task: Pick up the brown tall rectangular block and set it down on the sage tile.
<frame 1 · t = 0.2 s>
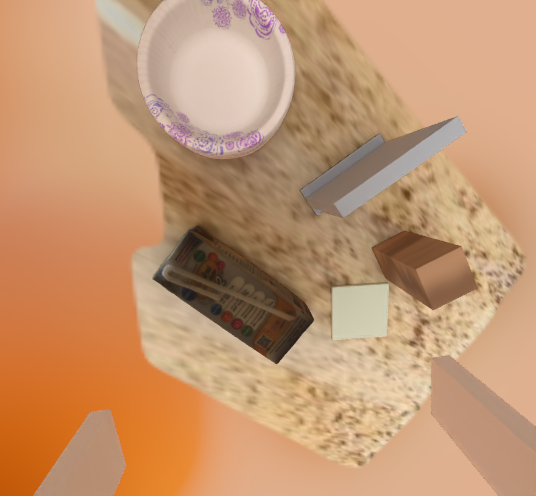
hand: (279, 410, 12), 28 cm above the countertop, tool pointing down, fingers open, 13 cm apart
brown tall rectangular block: (394, 254, 40), on the countertop
sage tile: (358, 310, 41), on the countertop
slate panel: (346, 176, 37), on the countertop
beverage carton: (237, 284, 40), on the countertop
paper bowls: (224, 97, 35), on the countertop
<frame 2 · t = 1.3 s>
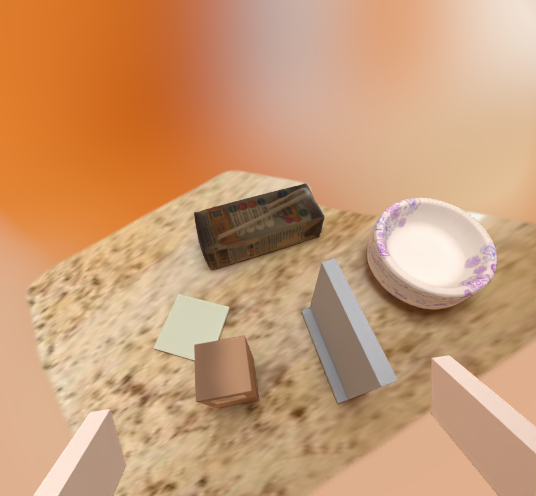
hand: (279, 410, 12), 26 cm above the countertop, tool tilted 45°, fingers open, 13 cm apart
brown tall rectangular block: (236, 382, 36), on the countertop
sage tile: (193, 328, 40), on the countertop
slate panel: (331, 349, 38), on the countertop
beverage carton: (260, 237, 48), on the countertop
paper bowls: (411, 269, 44), on the countertop
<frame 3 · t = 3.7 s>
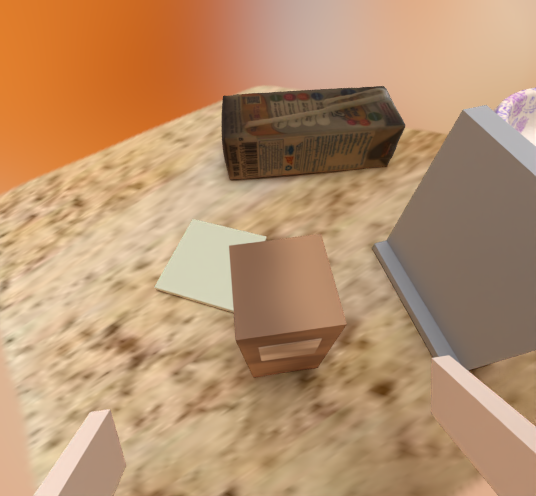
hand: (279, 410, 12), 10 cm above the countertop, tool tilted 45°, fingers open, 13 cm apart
brown tall rectangular block: (280, 339, 23), on the countertop
sage tile: (214, 263, 27), on the countertop
slate panel: (424, 298, 25), on the countertop
beverage carton: (304, 156, 36), on the countertop
paper bowls: (524, 199, 31), on the countertop
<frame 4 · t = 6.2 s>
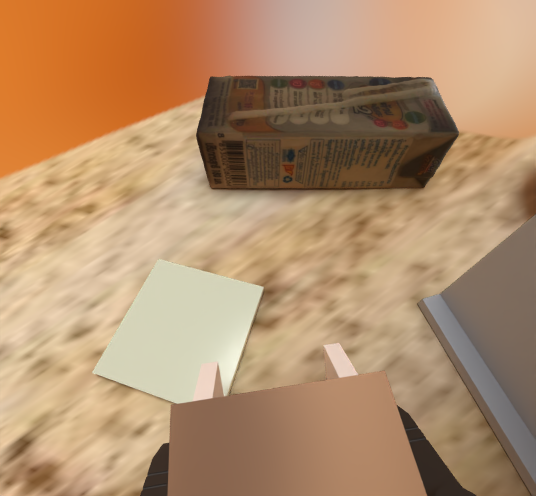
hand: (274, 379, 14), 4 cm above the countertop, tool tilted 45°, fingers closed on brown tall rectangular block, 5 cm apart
brown tall rectangular block: (286, 467, 15), on the countertop, touching gripper
sage tile: (186, 329, 18), on the countertop
slate panel: (506, 391, 16), on the countertop
beverage carton: (313, 164, 27), on the countertop
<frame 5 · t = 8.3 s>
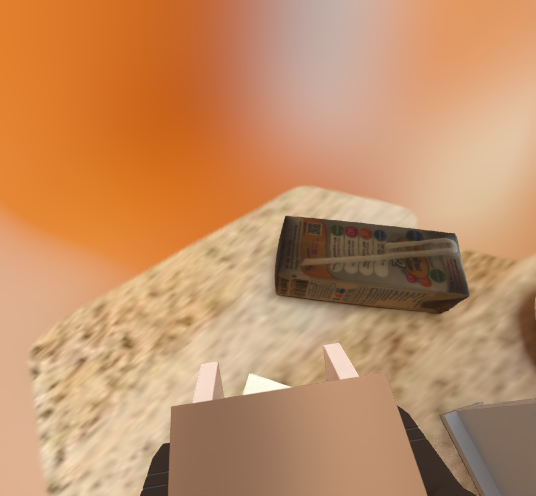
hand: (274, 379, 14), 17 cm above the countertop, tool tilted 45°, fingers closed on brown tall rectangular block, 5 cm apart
brown tall rectangular block: (286, 468, 15), point 13 cm above the countertop, touching gripper
sage tile: (276, 432, 26), on the countertop
slate panel: (502, 489, 24), on the countertop
beverage carton: (355, 277, 35), on the countertop
when the fingers open (6 cm above the countertop, at t = 10.7 s): brown tall rectangular block drops 1 cm, resting on sage tile.
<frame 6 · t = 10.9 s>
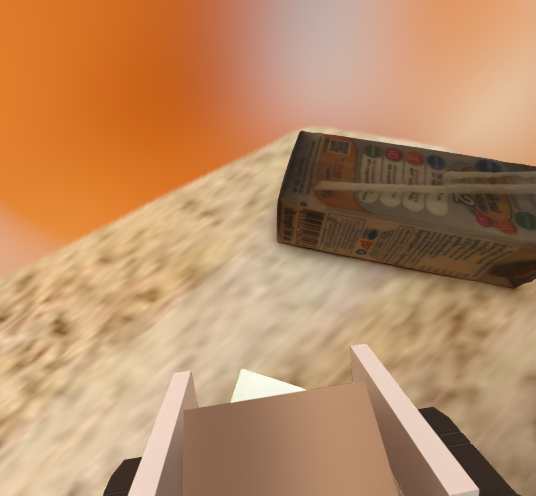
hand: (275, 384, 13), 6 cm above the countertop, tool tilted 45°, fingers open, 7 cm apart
brown tall rectangular block: (284, 465, 16), point 1 cm above the countertop, touching sage tile
sage tile: (285, 463, 16), on the countertop
beverage carton: (389, 232, 25), on the countertop
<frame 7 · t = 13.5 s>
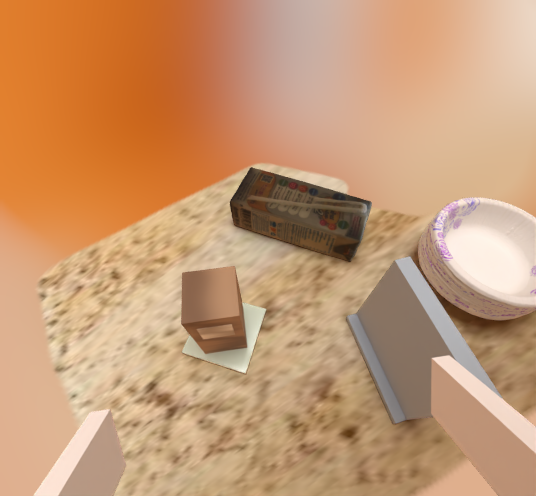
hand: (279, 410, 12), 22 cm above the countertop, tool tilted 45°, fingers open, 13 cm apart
brown tall rectangular block: (225, 330, 35), point 1 cm above the countertop, touching sage tile
sage tile: (226, 331, 36), on the countertop
slate panel: (382, 361, 34), on the countertop
beverage carton: (297, 227, 45), on the countertop
paper bowls: (462, 275, 40), on the countertop
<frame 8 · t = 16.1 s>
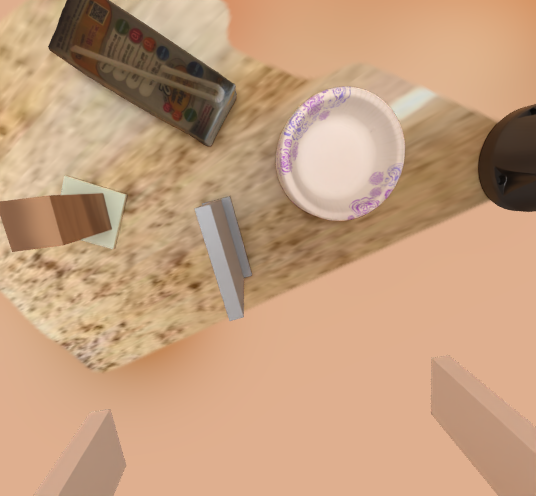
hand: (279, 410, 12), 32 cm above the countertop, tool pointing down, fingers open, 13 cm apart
brown tall rectangular block: (89, 213, 39), point 1 cm above the countertop, touching sage tile
sage tile: (91, 213, 40), on the countertop
slate panel: (228, 239, 42), on the countertop
beverage carton: (160, 84, 37), on the countertop
paper bowls: (325, 162, 41), on the countertop
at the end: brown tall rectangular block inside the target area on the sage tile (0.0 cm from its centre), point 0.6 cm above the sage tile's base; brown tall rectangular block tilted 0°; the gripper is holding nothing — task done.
